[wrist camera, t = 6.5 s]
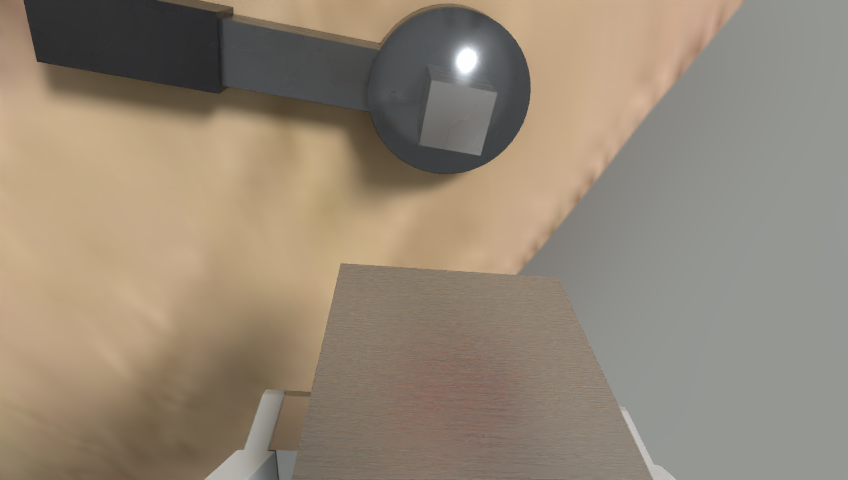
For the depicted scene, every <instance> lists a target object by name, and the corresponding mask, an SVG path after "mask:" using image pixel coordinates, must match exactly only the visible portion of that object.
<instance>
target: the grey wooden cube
mask: <svg viewBox="0 0 848 480" xmlns="http://www.w3.org/2000/svg"><path fill="white" fill-rule="evenodd" d="M291 480H653V478H652V476H651V474H650V472H649V469H648V467H647V465H646V463H645V461H644V459H643V457H642V455H641V452H640V450H639V448H638V446H637V444H636V442H635V440H634V438H633V435H632V433H631V431H630V429H629V427H628V425H627V423H626V421H625V418H624V416H623V414H622V412H621V410H620V408H619V406H618V404H617V401H616V399H615V397H614V395H613V393H612V391H611V389H610V387H609V384H608V382H607V380H606V378H605V376H604V374H603V372H602V370H601V367H600V366H599V363H598V361H597V359H596V357H595V355H594V353H593V351H592V348H591V346H590V344H589V342H588V340H587V338H586V336H585V334H584V331H583V329H582V327H581V325H580V323H579V321H578V319H577V317H576V314H575V312H574V310H573V308H572V306H571V304H570V302H569V300H568V297H567V295H566V293H565V291H564V289H563V287H562V285H561V282H560V280H559V278H551V277H536V276H522V275H521V276H520V275H507V274H492V273H477V272H462V271H447V270H432V269H417V268H402V267H388V266H373V265H358V264H343V263H341V265H340V269H339V273H338V278H337V282H336V287H335V291H334V295H333V300H332V304H331V308H330V313H329V317H328V321H327V326H326V330H325V334H324V339H323V343H322V348H321V352H320V356H319V361H318V365H317V369H316V374H315V378H314V382H313V387H312V391H311V395H310V400H309V404H308V408H307V413H306V417H305V422H304V426H303V430H302V435H301V439H300V443H299V448H298V452H297V456H296V461H295V465H294V469H293V474H292V478H291Z"/></svg>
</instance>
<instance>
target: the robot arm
mask: <svg viewBox="0 0 848 480" xmlns="http://www.w3.org/2000/svg"><path fill="white" fill-rule="evenodd" d="M310 395H311V392H302V391H288V390H270V389H266V390H265V392H264V393H263V395H262V397H261V400H260V403H259V406H258V409H257V412H256V414H255V417H254V420H253V423H252V426H251V429H250V432H249V435H248V438H247V441H246V444H245V447H244V449H243V450H236V451H235V452H234V453H233V454H232V455H231V456H230V457H228V458H227V459H226V460H225V461H224V462H223V463H222V464H221V465H220V466H218V467H217V468H216V469H215V470H214V471H213V472H212V473H211V474H210V475H209V476H207V477H206V478H205V479H204V480H291V478H292V474H293V469H294V465H295V461H296V456H297V452H298V448H299V443H300V439H301V435H302V430H303V426H304V422H305V417H306V413H307V408H308V404H309V400H310ZM619 408H620V410H621V412H622V414H623V416H624V418H625V421H626V423H627V425H628V427H629V429H630V431H631V433H632V435H633V438H634V440H635V442H636V444H637V446H638V448H639V450H640V452H641V455H642V457H643V459H644V461H645V463H646V465H647V467H648V469H649V472H650V474H651V476H652V478H653V480H676V479H675V478H673V476H671V475H670V474H669V473H668V472H667V471H666V470H664V469H663V468H662V467H661V466H659V465H654V464H653V462H652V460H651V458H650V456H649V454H648V452H647V450H646V448H645V446H644V444H643V442H642V440H641V438H640V436H639V434H638V432H637V430H636V428H635V426H634V424H633V422H632V420H631V418H630V416H629V414H628V412H627V410H626V409H625V408H624V407H623V406H619Z"/></svg>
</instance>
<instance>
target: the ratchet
mask: <svg viewBox="0 0 848 480" xmlns="http://www.w3.org/2000/svg"><path fill="white" fill-rule="evenodd" d="M24 5H25V9H26V14H27V18H28V23H29V27H30V32H31V36H32V41H33V45H34V50H35V54H36V59H37V62H43V63H48V64H54V65H60V66H65V67H71V68H76V69H82V70H88V71H93V72H99V73H105V74H110V75H116V76H122V77H127V78H133V79H139V80H144V81H150V82H156V83H161V84H167V85H173V86H178V87H184V88H190V89H195V90H201V91H207V92H212V93H218V94H219V93H221V92H222V91H223V90H225V89H226V88H228V87H233V88H239V89H244V90H250V91H255V92H261V93H266V94H272V95H278V96H283V97H289V98H294V99H300V100H305V101H311V102H317V103H322V104H328V105H333V106H339V107H345V108H350V109H356V110H361V111H367V112H370V114H371V118H372V121H373V124H374V126H375V128H376V130H377V132H378V135H379V136H380V138H381V139H382V141H383V142H384V144H385V145H386V146H387V147H388V148H389V149H390V151H391V152H393V153H394V154H395V155H396V156H397V157H398V158H400V159H401V160H402V161H404V162H405V163H407V164H409V165H411V166H413V167H415V168H417V169H420V170H423V171H427V172H431V173H438V174H455V173H462V172H466V171H469V170H473V169H475V168H478V167H480V166H482V165H484V164H486V163H488V162H490V161H491V160H492V159H494V158H495V157H497V156H498V155H499V154H500V153H501V152H502V151H504V150H505V149H506V148H507V146H508V145H509V144H510V143H511V142H512V141H513V139H514V138H515V136H516V135H517V133H518V132H519V130H520V128H521V126H522V124H523V122H524V119H525V117H526V114H527V110H528V106H529V101H530V92H531V91H530V75H529V69H528V66H527V62H526V59H525V57H524V55H523V52H522V50H521V48H520V47H519V45H518V43H517V42H516V40H515V39H514V38H513V37H512V35H511V34H510V33H509V32H508V31H507V30H506V29H505V28H504V27H503V26H501V25H500V24H499V23H497V22H496V21H494V20H493V19H491V18H490V17H488V16H487V15H485V14H484V13H482V12H480V11H478V10H475V9H473V8H470V7H467V6H464V5H457V4H438V5H431V6H428V7H425V8H421V9H419V10H417V11H415V12H413V13H411V14H409V15H408V16H406V17H405V18H403V19H402V20H401V21H400V22H399V23H397V24H396V25H395V26H394V27H393V28H392V29H391V31H390V32H389V33H388V34H387V35H386V37H385V38H384V40H383V41H382V43H381V44H380V43H375V42H370V41H365V40H360V39H355V38H350V37H345V36H340V35H335V34H330V33H325V32H320V31H315V30H310V29H305V28H300V27H295V26H290V25H285V24H280V23H275V22H270V21H265V20H260V19H255V18H250V17H245V16H240V15H235V14H233V7H229V6H224V5H219V4H214V3H209V2H204V1H199V0H24Z"/></svg>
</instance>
